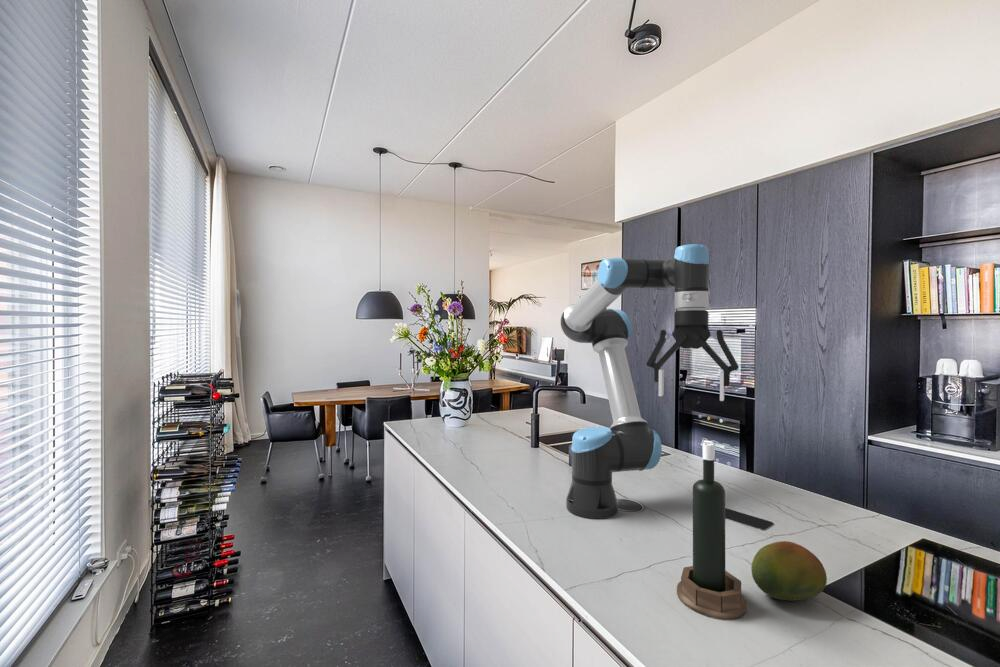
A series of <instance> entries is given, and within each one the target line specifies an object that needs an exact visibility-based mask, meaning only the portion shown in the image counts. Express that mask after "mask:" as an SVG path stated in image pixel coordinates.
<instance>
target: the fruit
mask: <svg viewBox="0 0 1000 667" xmlns="http://www.w3.org/2000/svg"><path fill="white" fill-rule="evenodd" d="M750 567H751V576H752V579H753V581H754V583H755V584H756V585H757V587H758V589H760V590H761V591H762V592H763V593H764V594H766V595H767V596H769V597H772V598H774V599H777V600H781V601H804V600H808V599H811V598H813V597H817V596H818V595H819V594H821V593H822V592H823V591H824V590H825V588H826V586H827V581H828V578H827V577H828V576H827V571H826V569H825V567H824V565H823V563H822V562H821V560H820V559H819V558H818V556H816V555H815V554H814V553H813V552H811V551H810V550H809V549H808V548H806V547H804V546H803V545H801V544H798V543H796V542H793V541H787V540H783V541H782V540H781V541H775V542H772V543H769V544H766V545H764V546H763V547H761V548H760V549H758V551H757V552H756V553H755V555H754V556H753V559H752V562H751V566H750Z"/></svg>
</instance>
